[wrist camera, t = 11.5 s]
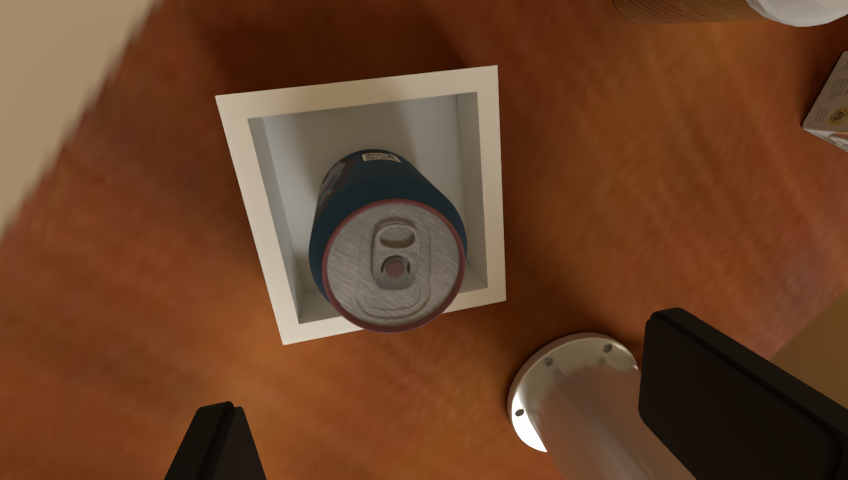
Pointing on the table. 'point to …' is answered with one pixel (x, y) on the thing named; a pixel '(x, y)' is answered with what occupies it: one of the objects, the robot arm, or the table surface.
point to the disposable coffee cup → (732, 11)
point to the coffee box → (832, 108)
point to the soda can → (385, 243)
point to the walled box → (353, 131)
